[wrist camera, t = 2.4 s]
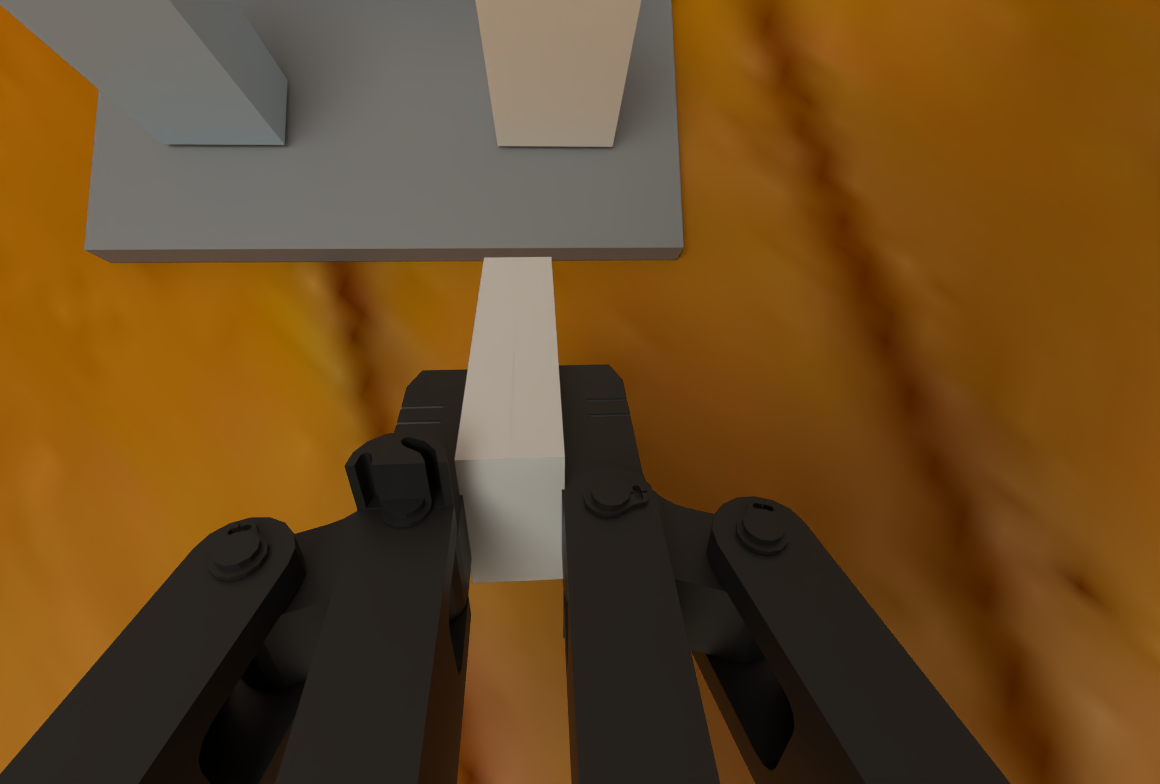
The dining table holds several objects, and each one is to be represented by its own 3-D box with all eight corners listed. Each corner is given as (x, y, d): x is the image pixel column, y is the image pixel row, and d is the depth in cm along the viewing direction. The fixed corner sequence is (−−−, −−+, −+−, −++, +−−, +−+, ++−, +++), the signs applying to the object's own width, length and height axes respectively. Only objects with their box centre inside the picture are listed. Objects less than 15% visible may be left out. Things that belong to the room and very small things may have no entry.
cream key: (610, 83, 27) (653, -186, 16) (612, 146, 26) (658, -85, 15) (497, 82, 26) (461, -192, 16) (497, 146, 26) (461, -91, 15)
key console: (661, -51, 30) (684, -155, 25) (676, 259, 28) (704, 212, 23) (137, -63, 28) (51, -176, 24) (110, 262, 26) (9, 213, 21)
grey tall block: (287, 79, 26) (99, -205, 15) (284, 144, 26) (89, -100, 15) (167, 78, 26) (-112, -213, 15) (162, 144, 25) (-129, -106, 14)
